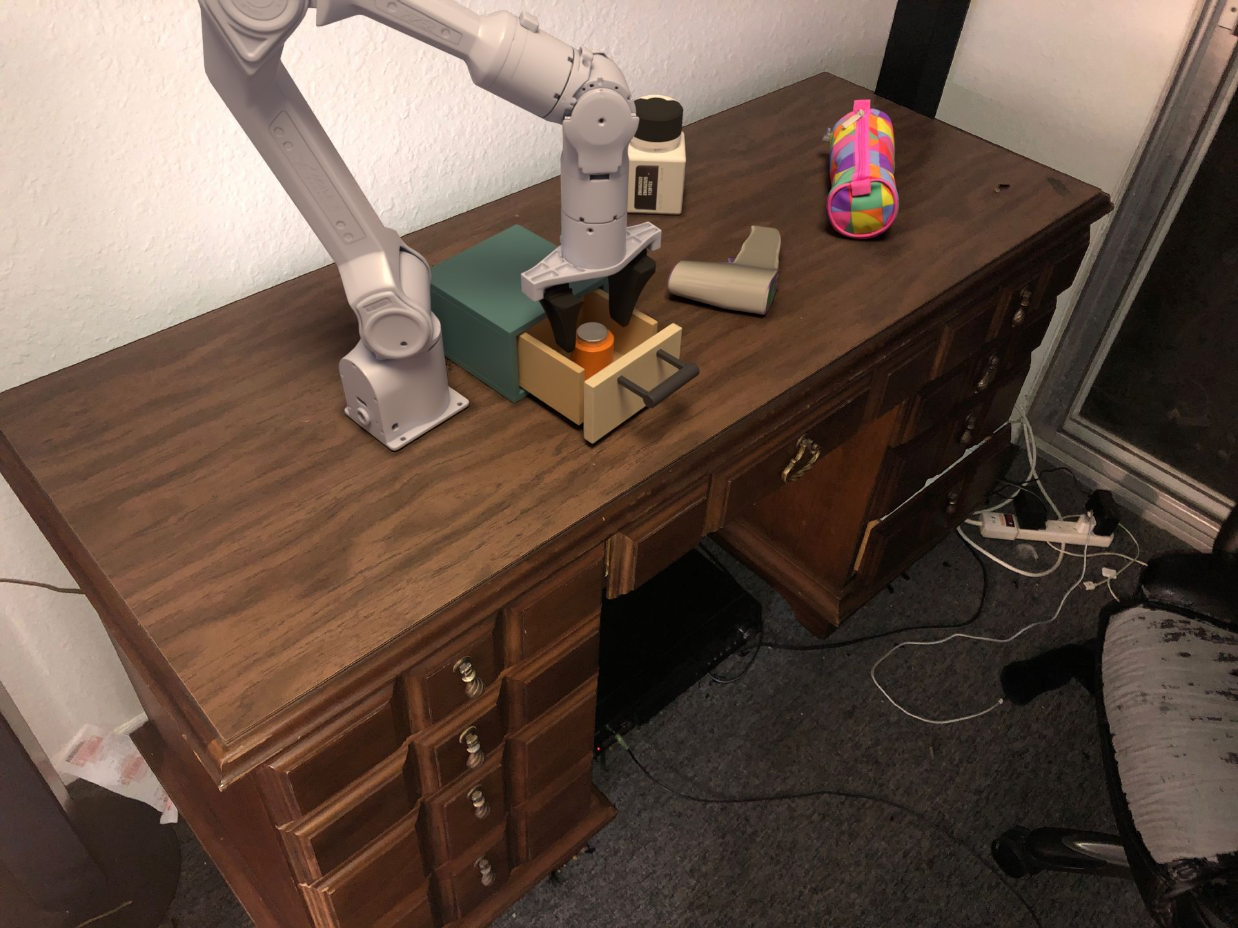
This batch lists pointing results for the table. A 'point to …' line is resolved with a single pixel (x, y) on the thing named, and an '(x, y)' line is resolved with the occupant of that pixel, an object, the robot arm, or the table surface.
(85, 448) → the table surface
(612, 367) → the drawer
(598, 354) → the orange cylinder
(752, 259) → the infrared thermometer
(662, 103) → the container
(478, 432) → the table surface
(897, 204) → the pencil case
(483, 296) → the cabinet
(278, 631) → the table surface
